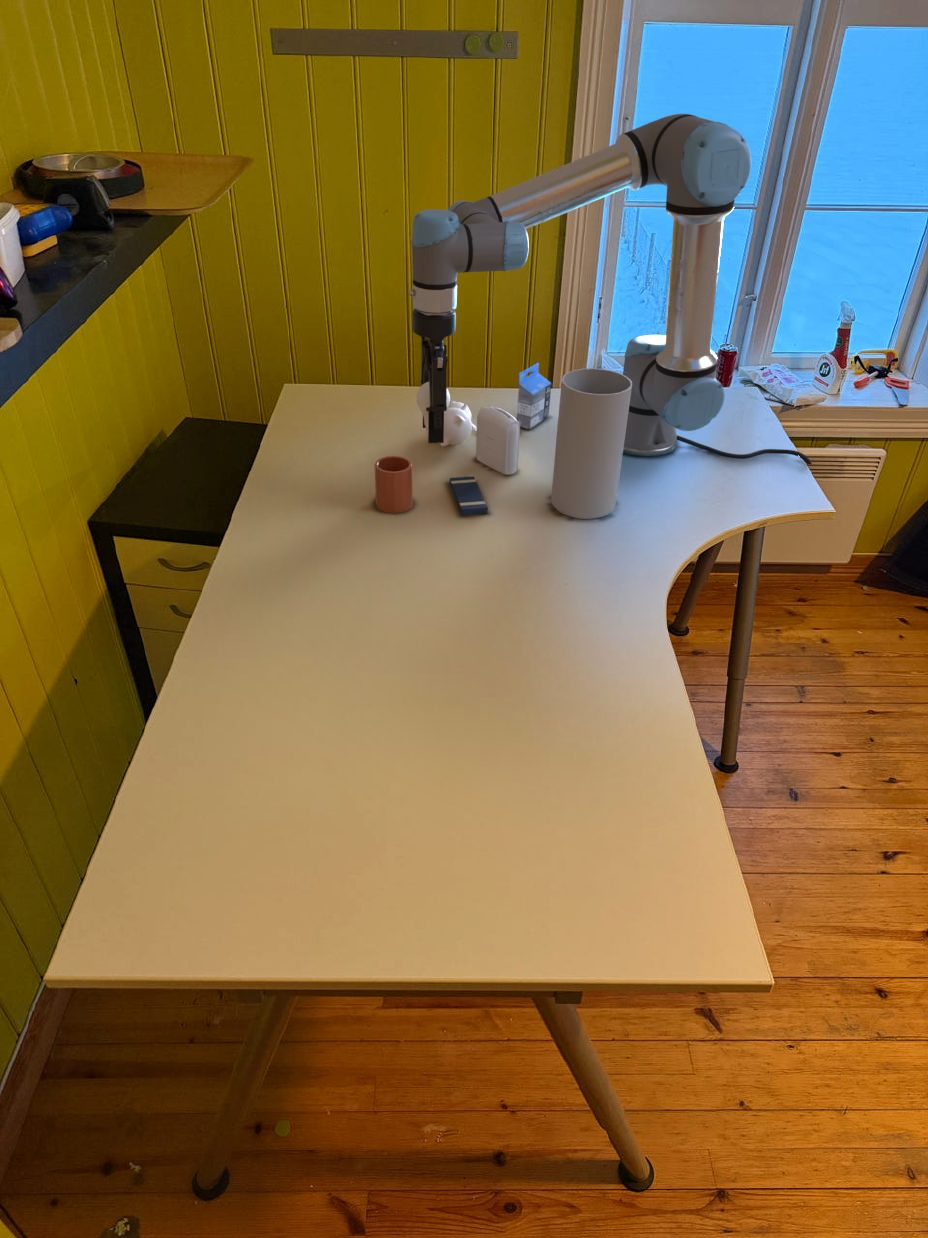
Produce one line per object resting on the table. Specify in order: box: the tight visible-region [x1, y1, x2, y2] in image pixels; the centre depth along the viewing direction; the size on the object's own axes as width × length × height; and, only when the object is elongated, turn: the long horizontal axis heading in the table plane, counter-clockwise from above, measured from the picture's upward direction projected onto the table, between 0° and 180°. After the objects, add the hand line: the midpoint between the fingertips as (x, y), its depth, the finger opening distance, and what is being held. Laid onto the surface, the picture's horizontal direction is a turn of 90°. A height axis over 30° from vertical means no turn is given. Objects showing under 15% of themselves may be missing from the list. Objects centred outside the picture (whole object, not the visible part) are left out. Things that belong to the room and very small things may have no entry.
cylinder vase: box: [550, 367, 632, 520], centre depth 170 cm, size 12×12×25 cm
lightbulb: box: [415, 382, 451, 438], centre depth 167 cm, size 6×6×11 cm
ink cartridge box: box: [516, 362, 552, 430], centre depth 205 cm, size 9×4×12 cm, turn 147°
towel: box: [448, 475, 489, 517], centre depth 178 cm, size 5×13×1 cm, turn 11°
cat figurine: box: [439, 399, 477, 447], centre depth 198 cm, size 9×11×12 cm
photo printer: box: [475, 405, 521, 476], centre depth 186 cm, size 10×4×12 cm, turn 39°
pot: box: [373, 455, 414, 514], centre depth 173 cm, size 7×7×8 cm
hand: (432, 434), depth 170 cm, fingers closed on lightbulb, 6 cm apart
